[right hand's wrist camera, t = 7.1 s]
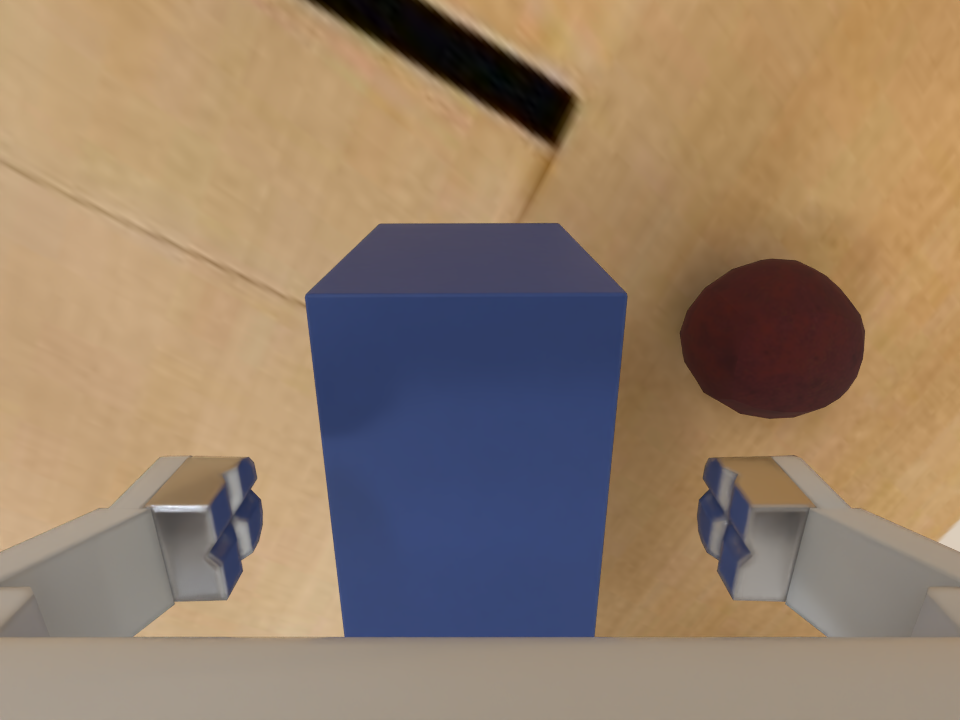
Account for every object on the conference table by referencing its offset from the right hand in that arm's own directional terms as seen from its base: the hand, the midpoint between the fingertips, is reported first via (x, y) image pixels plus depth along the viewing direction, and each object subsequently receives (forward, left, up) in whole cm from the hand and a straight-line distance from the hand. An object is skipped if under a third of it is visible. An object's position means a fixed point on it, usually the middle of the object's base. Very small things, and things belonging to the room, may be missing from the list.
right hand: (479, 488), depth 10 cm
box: (+10, 0, -11) cm, 15 cm away
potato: (+3, +14, -20) cm, 25 cm away
